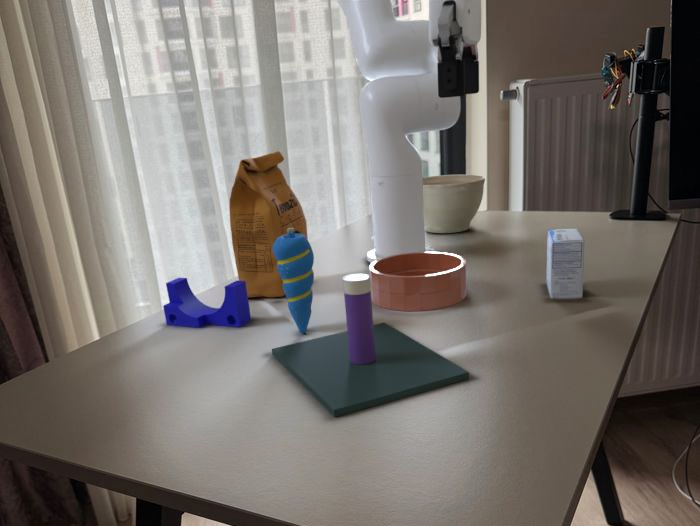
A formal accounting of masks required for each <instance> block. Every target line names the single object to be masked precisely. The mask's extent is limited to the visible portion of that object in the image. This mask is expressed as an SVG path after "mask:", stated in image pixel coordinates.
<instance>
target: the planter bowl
mask: <svg viewBox="0 0 700 526" xmlns="http://www.w3.org/2000/svg"><path fill="white" fill-rule="evenodd" d="M485 182H486V177H485V176H483V175H480V174H443V175H442V174H441V175H432V176H424V177H423V198H424V224H425V232H428V233H434V234H453V233H459V232H466V231H467V230H469V228H470V225H471V222H472V220H473V219H474V218H475V216H476V214H477V213H478V211H479V209H480V207H481V203H482V200H483V196H484V188H485V187H484V185H485Z"/></svg>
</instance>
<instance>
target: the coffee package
mask: <svg viewBox="0 0 700 526" xmlns="http://www.w3.org/2000/svg"><path fill="white" fill-rule="evenodd" d="M284 160H285V157H284V156H283V154H282V153H281V151H279V150H278V151H275V152H270V153H268V154H263V155H261V156H257V157H252V158H251V157H250V158H243V159H241V160H240V161H239V164H238V169H237V172H236V174H235V178H234V182H233V185H232V187H231V191H230V196H229V224H230V233H231V245H232V249H233V256H234V260H235V261H234V262H235V266H236V271H237V272H236V273H237V278H238V281H245V282H246V289H247V296H248V299H249V298H261V297H264V298H279V297H285V296H286V294H285V292H284V290H283V280H282V278H281V276H280V275H279V272H278V270H277V264H278V261H277V259H276V258H275V256H274V253H273V244H274V242H275V240H276V239H277V238H278V237H280V236H282V235H287V234H288V233H287V228H289V227H290V228H294V234H302V235H304V236H305V237H306V238H307V240H308V241H309V238H308V236H309V235H308V225H307V219H306V216H305V212H304V210H303V207H302V204H301V203H300V201H299V199H298V197H297V196H296V193H295V192H294V191H293V189H292V188H291V187H290V185H289V184H288V183H287V180H286V178H285V176H284V174H283V171H282V169H281V168H280V167H279V165H280V164H281V163H283V162H284ZM290 224H291V225H290Z"/></svg>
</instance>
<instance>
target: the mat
mask: <svg viewBox="0 0 700 526" xmlns="http://www.w3.org/2000/svg"><path fill="white" fill-rule="evenodd" d="M373 328H374V342H375V355H376V359H375V361H374V362H372V363H369V364H364V365H358V364H353V363H352V362H351V361H350V353H349V342H348V331H347V330H345V331H341V332H337V333H333V334H328V335H325V336H320V337H316V338H312V339H308V340H304V341H300V342H296V343H295V342H294V343H291V344H286V345H281V346H278V347H273V348H271V354H272V356H273V357H274V358H275V359H276V360H277V361H278V362H279V363H280V364H281V365H282V366H283V367H284V368H285V369H286V370H287V371H288V373H290V374H291V375H292V376H293V377H294V378H295V379H296V380H297V381H298V382H299V383H300V384H301V385H302V386H303V387H304V388H305V389H306V390H307V391H308V392H309V393H310V394H311V395H312V396H313V397H314V399H316V400H317V401H318V402H319V403H320V404H321V405H322V406H323V407H324V408H325V410H327V411H328V412H329V413H330V414H331V415H332V416H333V417H334V418H337V417H340V416H343V415H346V414H350V413H353V412H357V411H361V410H364V409H368V408H372V407H375V406H378V405H382V404H386V403H388V402H393V401H396V400H400V399H403V398H406V397H410V396H413V395H416V394H421V393H423V392H427V391H431V390H434V389H438V388H442V387H445V386H447V385H452V384H456V383H458V382H463V381H466V380H470V372H469V371H468V370H466V369H464V368H463V367H461V366H459V365H458V364H456V363H454V362H452V361H451V360H449V359H448V358H446V357H444V356H442V355H440V353H437V352H435V351H434V350H432V349H431V348H429V347H427V346H426V345H424V344H422V343H420V342H418V341H417V340H415V339H414V338H411V337H410V336H408V335H406V334H405V333H403V332H401V331H399V330H398V329H396V328H394V327H393V326H392V325H389V324H388V323H387V322H379V323H375V324H373Z"/></svg>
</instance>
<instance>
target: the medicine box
mask: <svg viewBox="0 0 700 526" xmlns="http://www.w3.org/2000/svg"><path fill="white" fill-rule="evenodd" d="M546 236H547V237H546V238H547V239H546V277H545V278H546V279H545V280H546V282H545V283H546V287H547V289H548V293H549V297H550V299H582V298H583V294H584V293H583V292H584V270H585V269H584V265H585V240H584V238H583V237H582V234H581V233H580V230H579V229H578V228H557V229H550V230H548V231H547V234H546Z"/></svg>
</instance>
